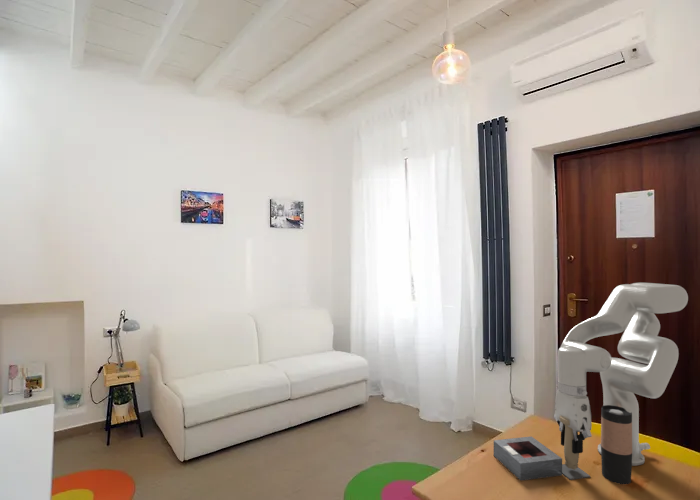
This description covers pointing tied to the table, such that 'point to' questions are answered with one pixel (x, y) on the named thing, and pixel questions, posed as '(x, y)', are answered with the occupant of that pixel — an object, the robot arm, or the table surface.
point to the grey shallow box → (531, 467)
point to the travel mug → (616, 444)
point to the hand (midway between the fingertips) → (571, 448)
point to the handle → (569, 446)
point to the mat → (573, 473)
